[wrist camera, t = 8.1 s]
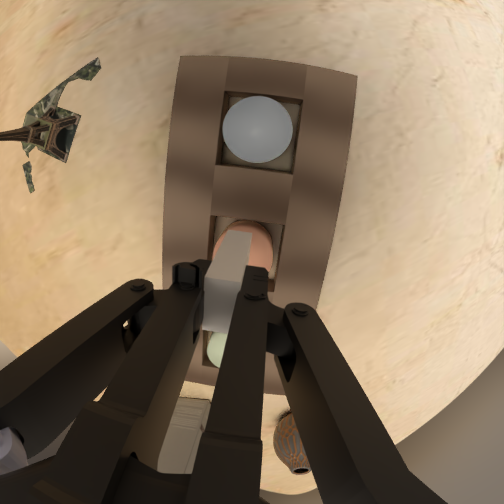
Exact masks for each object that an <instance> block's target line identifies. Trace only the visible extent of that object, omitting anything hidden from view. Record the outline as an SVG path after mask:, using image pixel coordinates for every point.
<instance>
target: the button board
mask: <svg viewBox="0 0 504 504" xmlns="http://www.w3.org/2000/svg"><path fill="white" fill-rule="evenodd" d="M356 87H357V76H356V75H352V74H348V73H344V72H340V71H335V70H331V69H326V68H321V67H316V66H310V65H305V64H298V63H292V62H285V61H277V60H269V59H259V58H247V57H230V56H180V62H179V67H178V73H177V79H176V86H175V92H174V99H173V107H172V115H171V123H170V132H169V141H168V152H167V163H166V176H165V192H164V212H163V252H162V275H163V290H165V289H169V287H170V286H171V284H172V266H173V265H174V264H177V263H180V262H192V263H193V262H194V261H196V260H198V259H204V260H211V261H212V252H213V240H214V228H215V217H216V216H222V217H230V218H237V219H245V220H252V221H260V222H267V223H274V224H281V225H283V229H282V235H281V242H280V248H279V254H278V260H277V266H276V272H275V278H274V280H271V279H268V298H269V301H270V302H271V303H272V304H274V305H276V306H278V307H280V308H285V307H286V305H287V304H290V303H295V302H297V303H305V304H307V305H309V306H311V307H312V308H313V309H314V310H315V311H316V308H317V304H318V300H319V296H320V292H321V288H322V284H323V280H324V276H325V272H326V268H327V263H328V259H329V254H330V250H331V245H332V241H333V236H334V231H335V226H336V221H337V216H338V211H339V206H340V201H341V195H342V190H343V184H344V178H345V172H346V166H347V159H348V153H349V146H350V138H351V131H352V123H353V115H354V106H355V97H356ZM229 96H230V97H243V98H248V97H252V96H263V97H268V98H271V99H273V100H275V101H279V102H286V103H292V104H299V105H300V111H299V119H298V126H297V134H296V141H295V148H294V156H293V163H292V170H291V173H290V172H284V171H277V170H270V169H262V168H254V167H246V166H238V165H228V164H221V158H222V149H223V140H224V137H223V122H224V119H225V116H226V114H227V109H228V101H229ZM218 373H219V367H217V366H215V365H214V364H213V363H212V362H211V361H210V359H209V357H208V355H207V330H202V324H201V326H200V337H199V340H198V343H197V346H196V349H195V351H194V354H193V357H192V360H191V363H190V366H189V368H188V371H187V374H186V377H185V381H190V382H195V383H200V384H205V385H210V386H215V385H216V381H217V377H218ZM264 393H266V394H276V395H286V394H285V391H284V388H283V385H282V382H281V379H280V376H279V373H278V370H277V367H276V364H275V361H274V354H271V353H269V352H266V360H265V377H264Z"/></svg>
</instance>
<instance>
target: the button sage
mask: <svg viewBox="0 0 504 504" xmlns="http://www.w3.org/2000/svg"><path fill="white" fill-rule="evenodd" d="M227 335H228V334H225V333H219V332H212V335H211V338H210V341H209V344H208V347H207V355H208V357H209V359H210V361H211V362H212V363H213V364H214V365H215V366H217V367H219V368H220V364H221V360H222V356H223V352H224V348H225V343H226V339H227Z"/></svg>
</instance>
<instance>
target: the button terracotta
mask: <svg viewBox="0 0 504 504" xmlns="http://www.w3.org/2000/svg"><path fill="white" fill-rule="evenodd" d="M228 230H235V231H242V232H250V233H252V239H251V247H250V254H249V262H248V265H250V266H257V267H265V268H266V270H267V271H268V272H269V271H270V269H271V267H272V261H273V243H272V239H271V236H270V234H269V233H268V231H267V230H266V229H265V228H264V227H263V226H262V225H260V224H258V223H256V222H254V221H249V220H241V221H237V222H234V223H232V224H231V225H229V226H228V227H227V228H226V229H225V230H224V231H223V233H222V235H221V236H220V238H219V240H218V241H217V243H216V245H215V247H214V250H213V259H214V257H215V255H216V253H217V251H218V249H219V247H220V245H221V243H222V241H223V239H224V237H225V235H226V233H227V231H228Z"/></svg>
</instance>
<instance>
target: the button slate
mask: <svg viewBox="0 0 504 504" xmlns="http://www.w3.org/2000/svg"><path fill="white" fill-rule="evenodd" d="M292 133H293V126H292V121H291V118H290V116H289V114H288V112H287V111H286V109H285V108H284V107H283V106H282V105H281V104H280V103H278V102H277V101H275V100H273V99H271V98H268V97H263V96H252V97H248V98H245V99H242V100H240V101H239V102H237V103H236V104H234V105H233V106H232V107H231V108H230V109H229V111H228V112H227V114H226V116H225V119H224V122H223V137H224V140H225V143H226V145H227V147H228V148H229V150H230V151H231V152H232V153H233V154H234V155H236V156H237V157H238V158H240V159H242V160H244V161H247V162H252V163H263V162H268V161H271V160H273V159H275V158H277V157H278V156H280V155H281V154H282V153H283V152H284V151H285V150H286V148H287V147H288V145H289V143H290V141H291V138H292Z"/></svg>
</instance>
